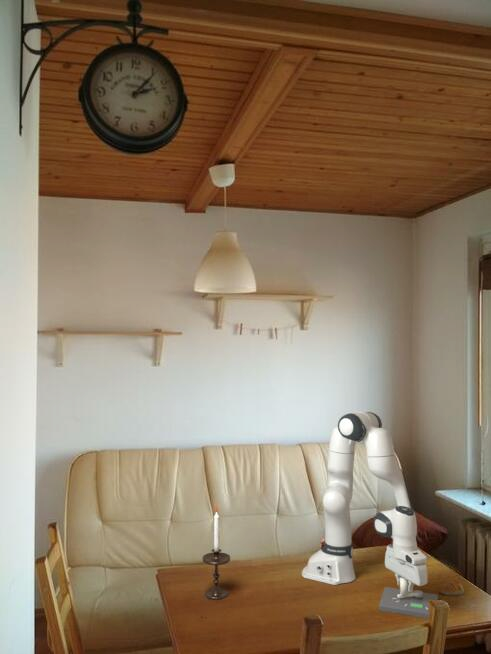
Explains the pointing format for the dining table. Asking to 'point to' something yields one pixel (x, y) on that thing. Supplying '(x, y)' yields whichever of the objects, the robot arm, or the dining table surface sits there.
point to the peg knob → (405, 593)
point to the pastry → (452, 588)
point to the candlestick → (216, 564)
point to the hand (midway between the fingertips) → (405, 588)
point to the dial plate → (406, 603)
